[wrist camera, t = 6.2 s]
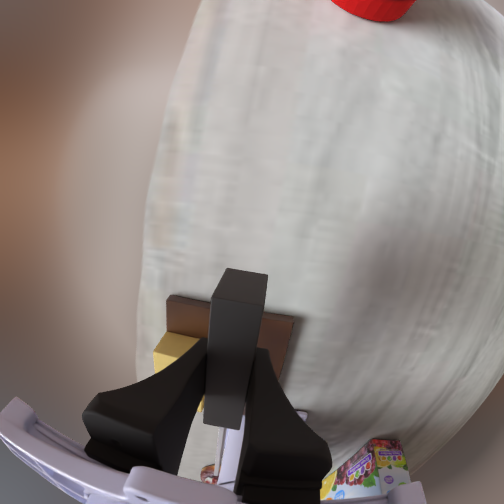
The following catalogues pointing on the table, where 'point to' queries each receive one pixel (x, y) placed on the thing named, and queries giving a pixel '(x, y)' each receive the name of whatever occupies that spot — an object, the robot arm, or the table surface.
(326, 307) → the table surface
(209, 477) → the pastry
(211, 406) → the knife
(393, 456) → the snack box
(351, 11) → the soda can
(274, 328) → the board
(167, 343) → the butter block
